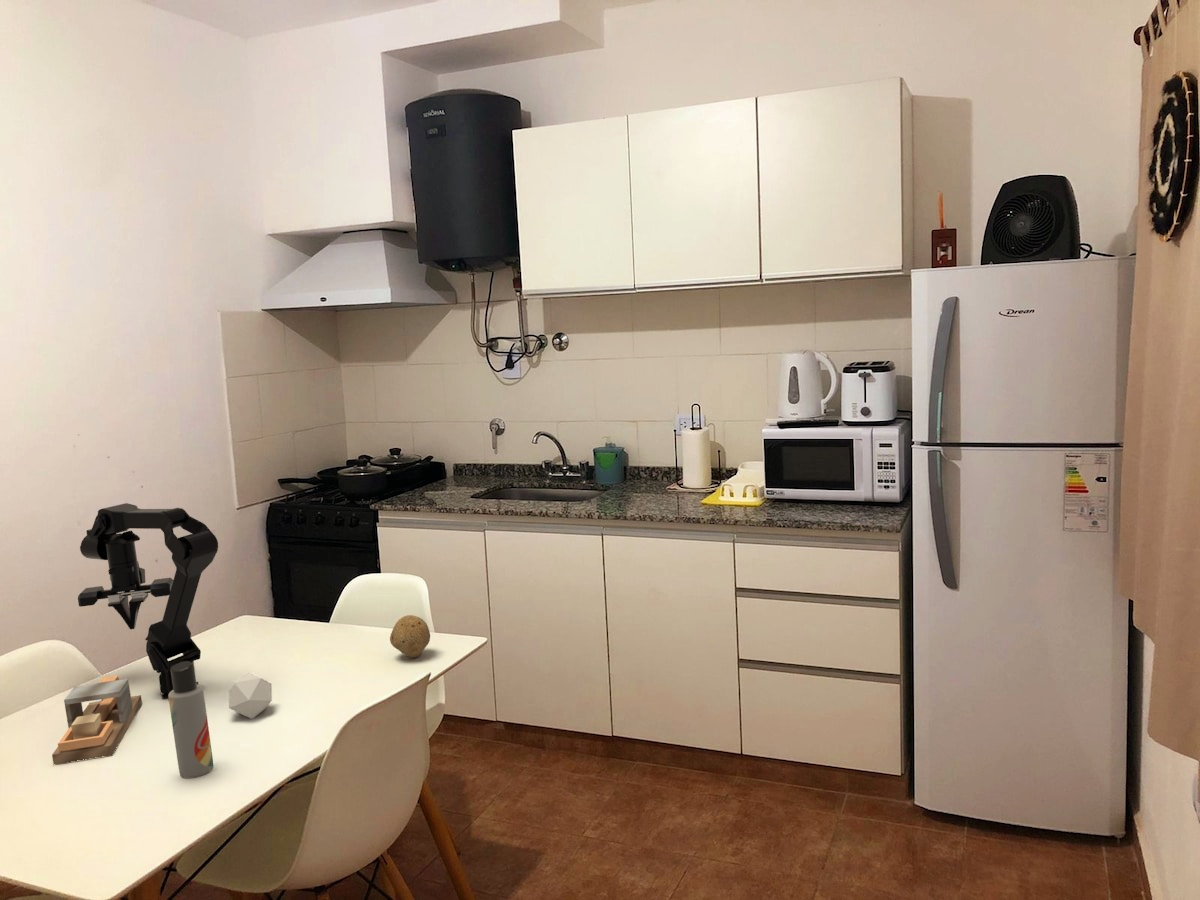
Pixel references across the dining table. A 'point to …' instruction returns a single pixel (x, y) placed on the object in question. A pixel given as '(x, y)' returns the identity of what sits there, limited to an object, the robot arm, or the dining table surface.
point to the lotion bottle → (189, 722)
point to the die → (250, 695)
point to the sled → (107, 726)
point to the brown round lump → (410, 635)
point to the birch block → (87, 726)
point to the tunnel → (119, 714)
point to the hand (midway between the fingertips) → (132, 628)
